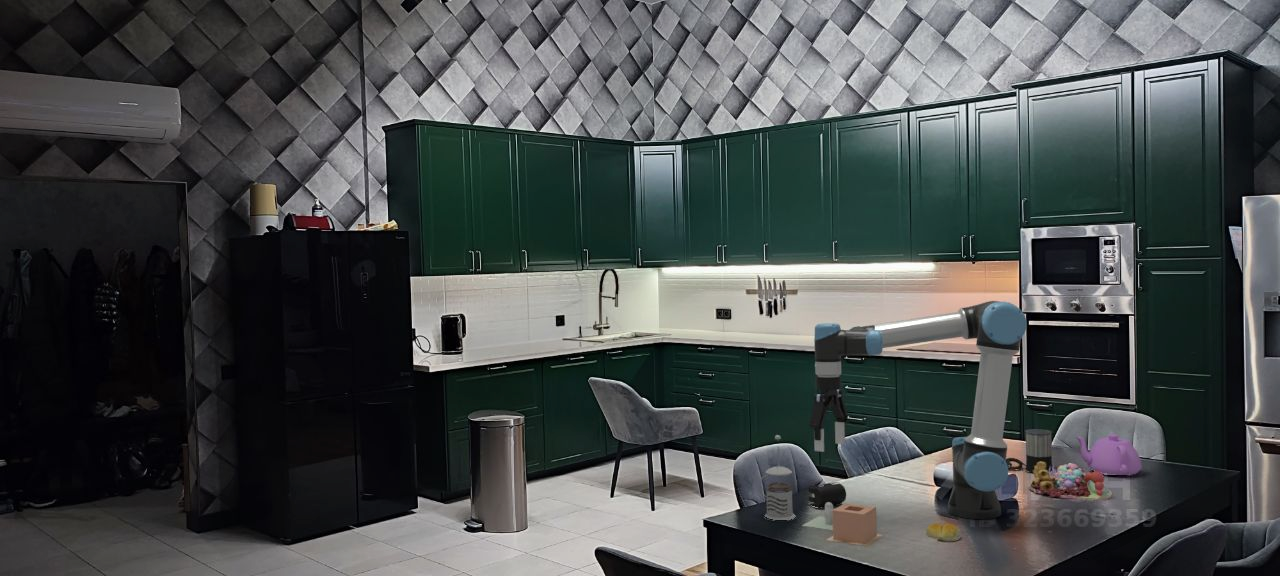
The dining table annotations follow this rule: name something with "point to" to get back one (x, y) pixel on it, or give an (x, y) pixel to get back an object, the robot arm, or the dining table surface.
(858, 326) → the robot arm
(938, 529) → the bread roll
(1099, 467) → the teapot
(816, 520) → the green base with peg
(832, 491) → the black rounded block
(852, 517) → the collar
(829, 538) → the stand
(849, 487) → the dining table surface
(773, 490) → the french press
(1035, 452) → the milk frother
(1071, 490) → the plate of food
